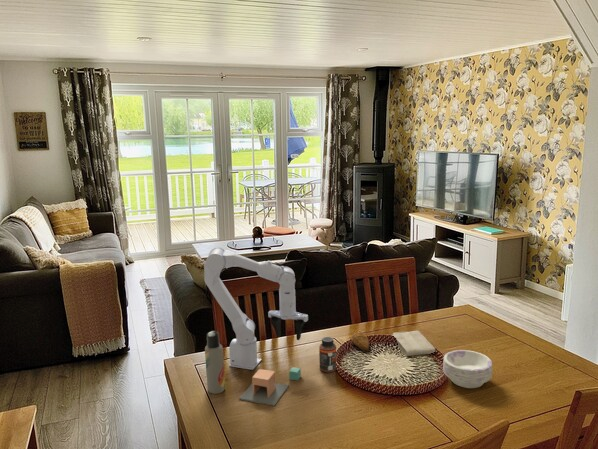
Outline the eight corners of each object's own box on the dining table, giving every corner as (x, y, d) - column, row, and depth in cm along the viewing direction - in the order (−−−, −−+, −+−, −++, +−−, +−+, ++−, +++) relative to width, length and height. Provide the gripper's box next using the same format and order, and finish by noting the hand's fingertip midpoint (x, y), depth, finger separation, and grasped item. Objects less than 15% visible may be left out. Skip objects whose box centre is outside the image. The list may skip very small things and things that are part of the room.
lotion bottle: (228, 386, 161) (224, 330, 157) (220, 395, 156) (216, 337, 152) (212, 383, 163) (209, 328, 159) (204, 392, 158) (200, 335, 154)
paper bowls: (456, 365, 171) (457, 344, 170) (499, 380, 161) (500, 358, 159) (434, 381, 161) (434, 359, 159) (478, 399, 150) (479, 375, 149)
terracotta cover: (253, 394, 155) (252, 377, 154) (260, 385, 160) (259, 368, 159) (268, 397, 153) (268, 379, 152) (275, 388, 158) (275, 371, 157)
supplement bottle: (335, 374, 168) (335, 343, 165) (318, 372, 169) (317, 342, 166) (337, 365, 173) (337, 336, 171) (321, 364, 174) (320, 335, 172)
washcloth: (417, 335, 198) (418, 327, 197) (437, 355, 180) (437, 347, 180) (389, 337, 196) (389, 330, 195) (406, 358, 179) (406, 350, 178)
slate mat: (239, 399, 153) (239, 398, 153) (255, 380, 164) (255, 379, 164) (274, 406, 149) (274, 404, 149) (288, 386, 160) (288, 385, 160)
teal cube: (289, 379, 165) (289, 371, 164) (292, 375, 168) (292, 367, 167) (297, 380, 164) (297, 372, 163) (300, 376, 167) (300, 368, 166)
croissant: (346, 339, 195) (346, 327, 194) (362, 337, 197) (362, 325, 196) (358, 353, 182) (358, 341, 181) (374, 351, 184) (375, 339, 183)
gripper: (264, 303, 171) (265, 339, 174) (302, 308, 166) (303, 344, 169) (272, 297, 178) (273, 331, 180) (309, 301, 173) (310, 336, 175)
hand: (288, 337), depth 175 cm, fingers open, 7 cm apart
